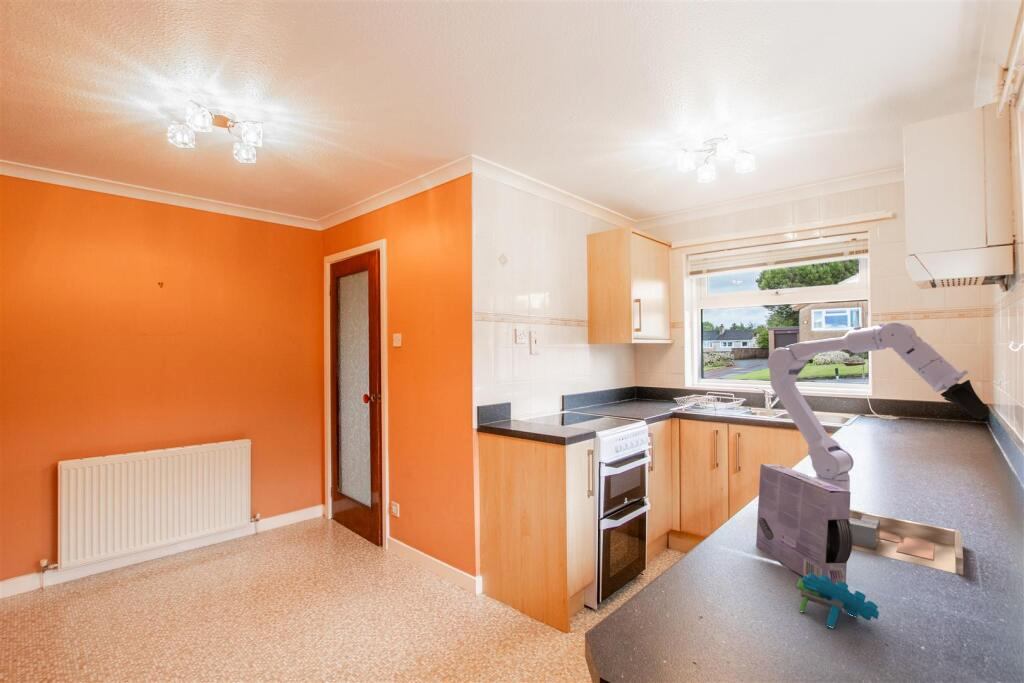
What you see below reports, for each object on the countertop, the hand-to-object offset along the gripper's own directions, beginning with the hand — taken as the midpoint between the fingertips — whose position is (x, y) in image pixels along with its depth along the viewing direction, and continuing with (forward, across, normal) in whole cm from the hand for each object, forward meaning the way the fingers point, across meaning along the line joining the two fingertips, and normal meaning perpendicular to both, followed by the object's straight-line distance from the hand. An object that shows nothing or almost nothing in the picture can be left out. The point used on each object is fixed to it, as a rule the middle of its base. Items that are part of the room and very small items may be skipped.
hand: (984, 416), depth 101 cm
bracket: (+9, -11, +34) cm, 37 cm away
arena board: (+13, -8, +30) cm, 34 cm away
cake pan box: (+9, -33, +41) cm, 53 cm away
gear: (+17, -48, +36) cm, 62 cm away
